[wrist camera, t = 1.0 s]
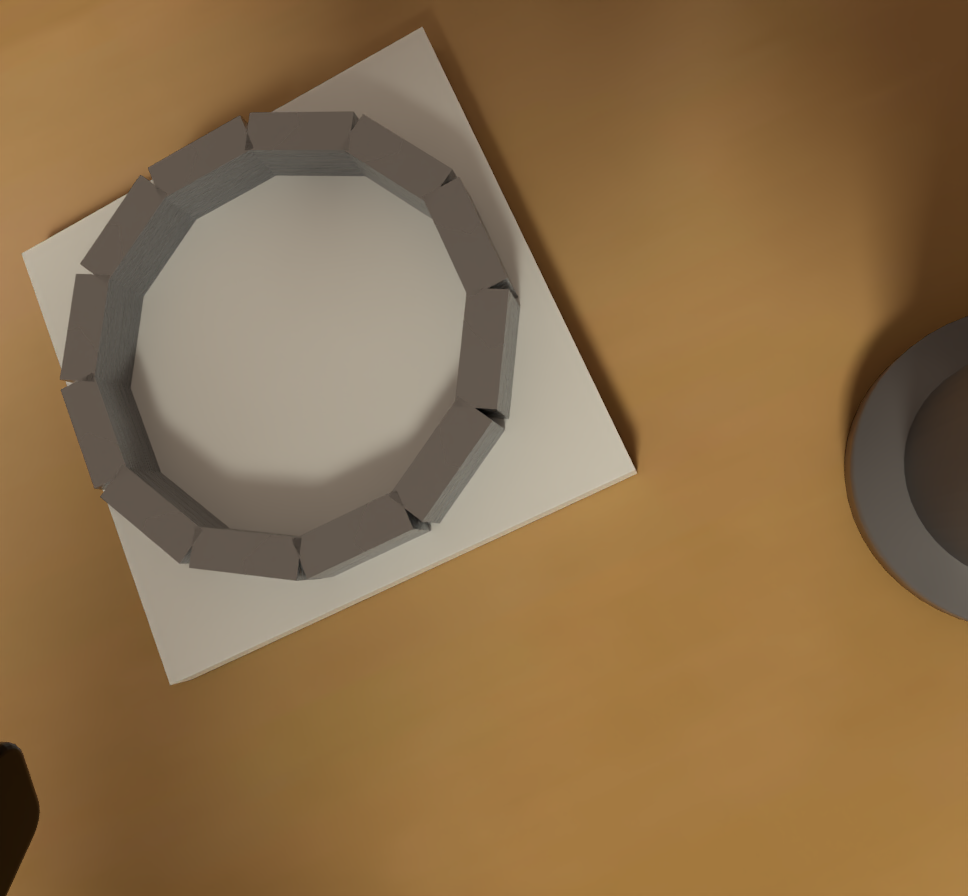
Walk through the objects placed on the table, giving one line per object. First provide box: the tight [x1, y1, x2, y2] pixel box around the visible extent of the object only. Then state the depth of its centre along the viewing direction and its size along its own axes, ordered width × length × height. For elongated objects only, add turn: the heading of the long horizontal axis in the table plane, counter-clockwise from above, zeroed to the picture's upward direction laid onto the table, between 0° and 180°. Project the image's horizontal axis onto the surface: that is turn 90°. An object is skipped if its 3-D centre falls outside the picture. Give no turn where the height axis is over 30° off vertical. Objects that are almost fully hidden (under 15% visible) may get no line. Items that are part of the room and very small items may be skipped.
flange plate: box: [22, 27, 637, 685], centre depth 22 cm, size 13×13×2 cm
